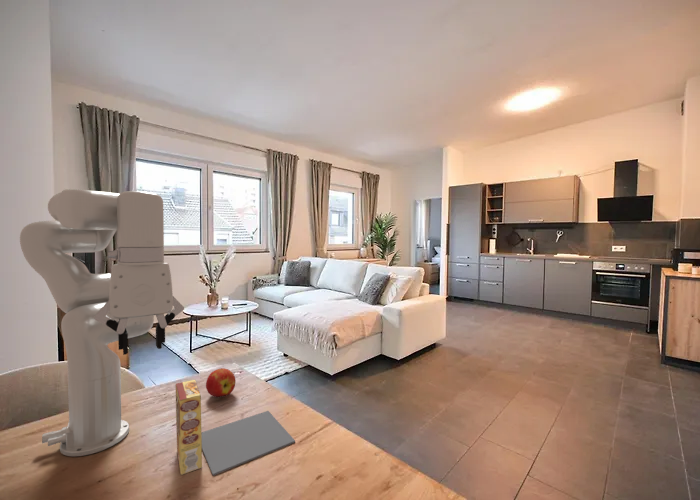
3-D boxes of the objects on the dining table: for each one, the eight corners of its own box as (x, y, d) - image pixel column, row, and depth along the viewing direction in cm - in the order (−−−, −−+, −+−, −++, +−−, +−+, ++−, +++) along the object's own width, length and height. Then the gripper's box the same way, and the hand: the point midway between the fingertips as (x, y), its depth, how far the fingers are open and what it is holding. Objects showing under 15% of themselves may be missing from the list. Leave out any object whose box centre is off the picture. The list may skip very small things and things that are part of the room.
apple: (213, 405, 90) (213, 377, 90) (201, 395, 96) (201, 369, 96) (239, 395, 96) (239, 369, 96) (227, 386, 102) (226, 362, 101)
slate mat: (212, 475, 63) (212, 473, 63) (196, 435, 76) (196, 434, 76) (295, 442, 74) (295, 440, 74) (268, 412, 87) (268, 410, 87)
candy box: (202, 468, 66) (202, 394, 65) (179, 476, 63) (178, 400, 63) (196, 445, 73) (196, 378, 72) (175, 451, 71) (174, 383, 70)
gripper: (82, 258, 54) (84, 365, 54) (193, 256, 64) (194, 346, 65) (85, 256, 60) (87, 353, 60) (186, 254, 70) (187, 337, 71)
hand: (142, 348), depth 62 cm, fingers open, 4 cm apart
